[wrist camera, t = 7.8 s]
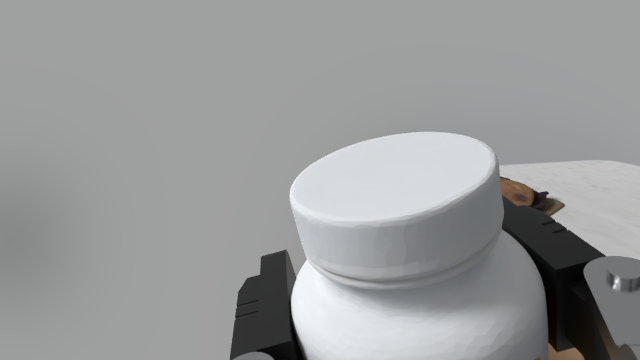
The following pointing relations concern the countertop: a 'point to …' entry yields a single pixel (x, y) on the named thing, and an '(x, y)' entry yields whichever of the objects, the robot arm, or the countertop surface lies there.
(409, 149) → the supplement bottle
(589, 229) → the countertop surface
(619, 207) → the countertop surface
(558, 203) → the bread roll
